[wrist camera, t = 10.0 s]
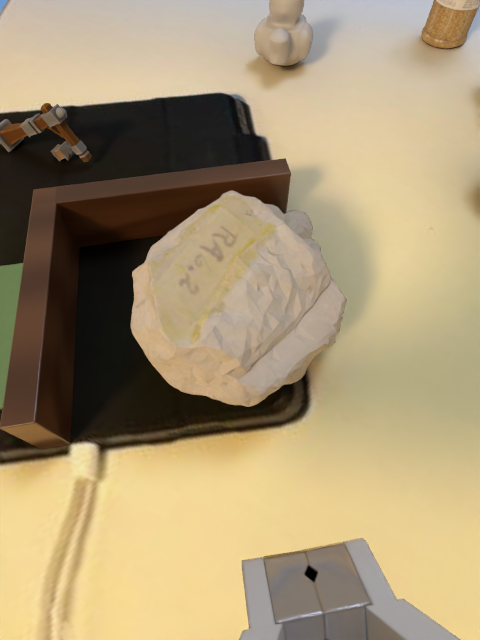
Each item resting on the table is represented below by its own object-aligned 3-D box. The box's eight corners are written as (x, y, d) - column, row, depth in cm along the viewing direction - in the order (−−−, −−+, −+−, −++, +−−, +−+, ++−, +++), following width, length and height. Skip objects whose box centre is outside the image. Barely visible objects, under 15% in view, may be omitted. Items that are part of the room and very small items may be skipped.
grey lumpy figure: (313, 51, 40) (327, -53, 33) (302, 86, 37) (316, -21, 30) (261, 45, 41) (265, -57, 34) (247, 79, 37) (247, -27, 31)
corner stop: (342, 397, 21) (361, 367, 18) (41, 449, 20) (-2, 429, 16) (281, 205, 29) (285, 157, 25) (59, 234, 27) (33, 189, 24)
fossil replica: (338, 264, 26) (193, 257, 28) (358, 146, 19) (166, 146, 21) (337, 442, 19) (144, 419, 21) (367, 356, 12) (79, 332, 14)
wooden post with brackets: (91, 164, 30) (47, 107, 27) (32, 177, 34) (-12, 129, 31) (103, 150, 31) (62, 93, 27) (44, 165, 35) (2, 116, 32)
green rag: (48, 402, 21) (46, 400, 21) (-67, 421, 21) (-71, 419, 20) (60, 260, 26) (58, 257, 26) (-33, 273, 26) (-36, 270, 25)
